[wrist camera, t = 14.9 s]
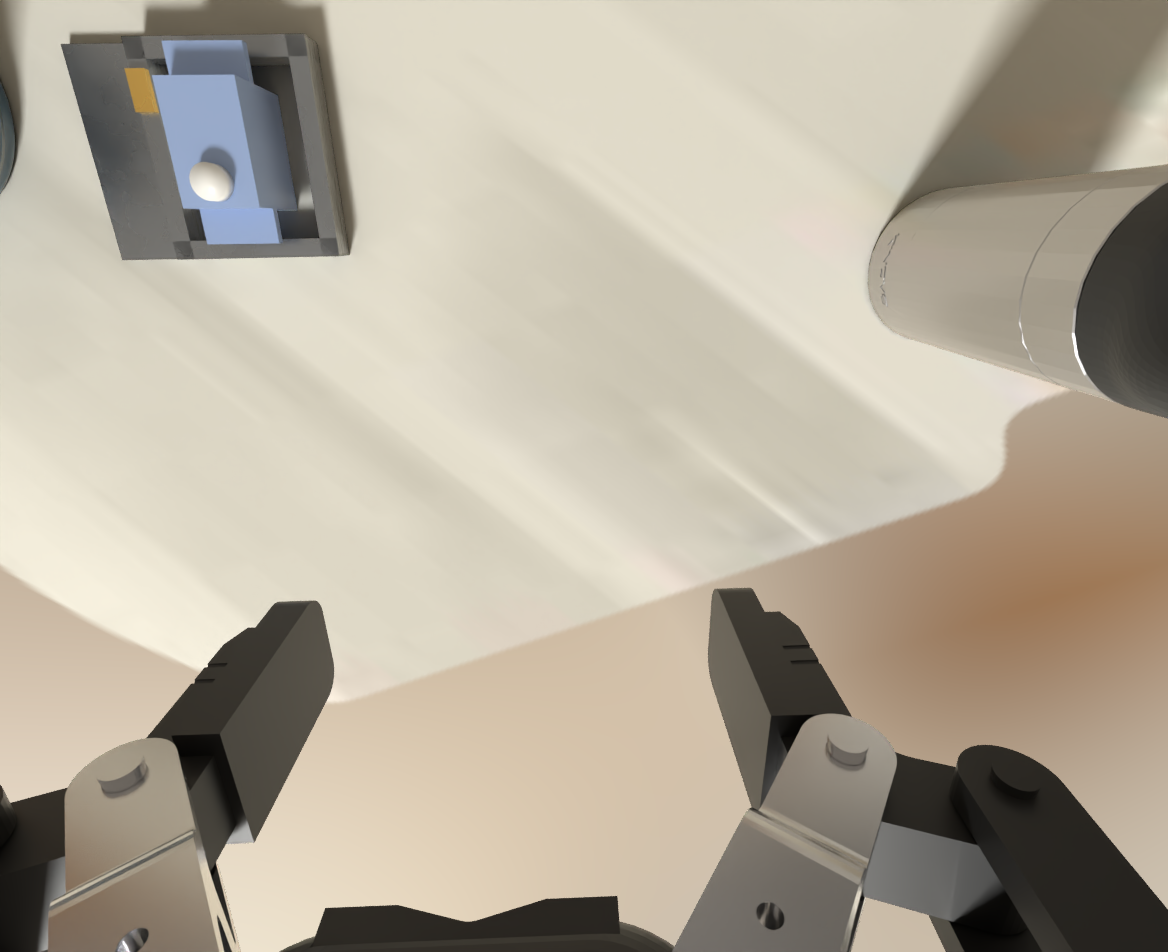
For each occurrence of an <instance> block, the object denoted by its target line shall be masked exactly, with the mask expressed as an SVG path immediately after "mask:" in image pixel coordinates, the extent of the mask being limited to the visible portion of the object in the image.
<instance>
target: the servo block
mask: <svg viewBox="0 0 1168 952" xmlns="http://www.w3.org/2000/svg"><path fill="white" fill-rule="evenodd" d="M161 42H162V46H163V50H164V55H165V59H166V64H167V68H168V73H169V75H152V78H153V82H154V87H155V91H156V95H157V99H158V104H159V108H160V112H161V116H162V121H163V125H164V129H165V133H166V138H167V142H168V146H169V150H170V155H171V159H172V163H173V167H174V172H175V176H176V180H177V184H178V189H179V193H180V197H181V201H182V206H183V208H184V209H199V210H200V214H201V218H202V223H203V227H204V232H205V236H206V240H207V244H273V243H283V240H282V235H281V229H280V224H279V218H278V213H277V211H298V210H297V204H296V198H295V192H294V186H293V181H292V175H291V169H290V163H289V157H288V151H287V146H286V140H285V134H284V128H283V122H282V116H281V111H280V105H279V99H278V95H276V94H274V93H272V92H270V91H268V90H266V89H263V88H261V87H259V86H257V85H255V84H254V82H253V76H252V71H251V65H250V60H249V54H248V49H247V43H246V42H244V41H242V40H175V41H161Z"/></svg>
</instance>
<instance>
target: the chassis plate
mask: <svg viewBox="0 0 1168 952" xmlns="http://www.w3.org/2000/svg"><path fill="white" fill-rule="evenodd" d="M121 39H122V43H98V44H61V46H62V50H63V53H64V57H65V60H66V64H67V68H68V71H69V75H70V78H71V82H72V85H73V89H74V92H75V96H76V99H77V103H78V106H79V110H80V113H81V117H82V120H83V124H84V127H85V131H86V134H87V138H88V141H89V145H90V148H91V152H92V155H93V159H94V162H95V166H96V169H97V173H98V176H99V180H100V183H101V187H102V190H103V194H104V197H105V201H106V204H107V208H108V211H109V215H110V218H111V222H112V225H113V229H114V232H115V236H116V239H117V243H118V246H119V250H120V253H121V257H122V260H148V259H223V258H270V257H317V256H344V255H349V249H348V242H347V235H346V229H345V222H344V216H343V209H342V203H341V196H340V190H339V183H338V177H337V170H336V164H335V157H334V151H333V144H332V138H331V131H330V125H329V118H328V112H327V105H326V99H325V92H324V86H323V79H322V73H321V66H320V59H319V53H318V46H317V43H316V42H314V41H313V40H312V39H310V38H309V37H308V36H306V35H305V34H248V35H179V36H121ZM175 40H242V41H244V42H246V43H247V49H248V54H249V60H250V65H251V66H275V65H290V67H291V73H292V79H293V85H294V91H295V97H296V103H297V109H298V114H299V120H300V126H301V132H302V138H303V144H304V150H305V156H306V162H307V168H308V174H309V180H310V185H311V191H312V197H313V203H314V209H315V215H316V221H317V227H318V233H319V238H304V239H282V240H283V243H273V244H207V240H206V236H205V232H204V227H203V223H202V218H201V214H200V210H199V209H184V208H183V206H182V201H181V197H180V193H179V189H178V184H177V180H176V176H175V172H174V167H173V163H172V159H171V155H170V150H169V146H168V142H167V138H166V133H165V129H164V125H163V121H162V116H161V112H160V108H159V104H158V99H157V95H156V91H155V87H154V82H153V78H152V75H168V72H167V64H166V59H165V55H164V50H163V46H162V42H161V41H175Z"/></svg>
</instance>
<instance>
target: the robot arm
mask: <svg viewBox="0 0 1168 952" xmlns="http://www.w3.org/2000/svg"><path fill="white" fill-rule="evenodd" d="M868 289H869V295H870V300H871V303H872V305H873V308H874V310H875V312H876V314H877V315H878V317H879V318H880V319H881V321H882V322H883V323H884V324H885V325H886V326H887V327H888V328H890V329H891V330H892V331H893V332H895V333H897V334H900V335H902V336H904V337H906V338H909V339H912V340H916V341H919V342H922V343H925V344H928V345H932V346H935V347H937V348H940V349H943V350H947V351H950V352H953V353H956V354H960V355H963V356H966V357H969V358H972V359H976V360H979V361H982V362H985V363H989V364H992V365H995V366H998V367H1002V368H1005V369H1008V370H1011V371H1014V372H1018V373H1021V374H1024V375H1027V376H1031V377H1034V378H1037V379H1040V380H1043V381H1047V382H1050V383H1053V384H1056V385H1060V386H1063V387H1066V388H1069V389H1073V390H1076V391H1080V392H1083V393H1087V394H1090V395H1093V396H1096V397H1100V398H1103V399H1106V400H1109V401H1113V402H1116V403H1119V404H1122V405H1124V406H1127V407H1130V408H1133V409H1137V410H1140V411H1143V412H1147V413H1150V414H1154V415H1157V416H1161V417H1164V418H1168V164H1166V165H1158V166H1151V167H1141V168H1132V169H1123V170H1114V171H1105V172H1095V173H1086V174H1077V175H1068V176H1059V177H1050V178H1040V179H1031V180H1022V181H1013V182H1004V183H993V184H983V185H974V186H965V187H956V188H947V189H943V190H939V191H935V192H931V193H929V194H927V195H925V196H923V197H920V198H918V199H916V200H915V201H913V202H912V203H911V204H909V205H908V206H906V207H905V208H904V209H902V210H901V211H900V212H899V213H898V214H897V215H896V216H895V217H894V218H893V219H892V221H891V222H890V223H889V224H888V226H887V227H886V229H885V230H884V231H883V233H882V234H881V236H880V237H879V240H878V242H877V244H876V246H875V249H874V251H873V253H872V257H871V261H870V265H869V270H868ZM809 646H810V645H809V643H808V641H807V640H806V638H805V636H804V635H803V633H802V631H801V629H800V628H799V626H797V625H796V624H795V623H793V622H792V621H791V620H790V619H788V618H787V617H786V616H785V615H783V614H782V613H781V612H764V610H763V608H762V606H761V604H760V602H759V600H758V598H757V596H756V595H755V593H754V591H753V589H751V588H729V589H715V590H714V591H713V594H712V603H711V617H710V632H709V646H708V663H709V672H710V678H711V682H712V685H713V688H714V692H715V695H716V697H717V701H718V704H719V707H720V710H721V713H722V716H723V720H724V723H725V726H726V729H727V732H728V735H729V738H730V741H731V744H732V747H733V750H734V753H735V756H736V759H737V763H738V766H739V769H740V772H741V775H742V778H743V781H744V785H745V788H746V791H747V794H748V797H749V800H750V803H751V806H752V808H750V809H749V810H748V811H747V812H746V813H745V815H744V816H743V818H742V820H741V822H740V824H739V826H738V827H737V829H736V831H735V833H734V835H733V837H732V839H731V841H730V843H729V845H728V847H727V848H726V850H725V852H724V854H723V856H722V858H721V860H720V862H719V863H718V865H717V867H716V869H715V871H714V873H713V875H712V877H711V879H710V880H709V882H708V884H707V886H706V888H705V890H704V892H703V894H702V896H701V898H700V899H699V901H698V903H697V905H696V907H695V909H694V911H693V913H692V915H691V917H690V919H689V920H688V922H687V924H686V926H685V928H684V930H683V932H682V934H681V936H680V937H679V939H678V941H677V943H676V945H675V947H674V946H673V945H671V944H670V943H669V942H667V941H665V940H664V939H662V938H660V937H658V936H656V935H654V934H653V933H651V932H648V931H646V930H644V929H641V928H639V927H636V926H634V925H630V924H626V923H623V922H619V913H618V900H617V896H610V897H609V896H608V897H584V898H559V899H545V900H541V901H538V902H535V903H532V904H529V905H526V906H522V907H519V908H516V909H512V910H509V911H506V912H503V913H500V914H496V915H493V916H490V917H487V918H484V919H480V920H477V921H472V922H464V921H459V920H455V919H451V918H447V917H443V916H439V915H435V914H431V913H427V912H423V911H419V910H415V909H411V908H407V907H403V906H399V905H392V906H390V905H389V906H365V907H342V908H325V911H324V914H323V916H322V919H321V923H320V925H319V928H318V931H317V934H316V936H315V937H312V938H309V939H306V940H303V941H301V942H299V943H296V944H294V945H292V946H289V947H287V948H286V949H284V950H282V951H280V952H851V950H852V946H853V942H854V939H855V935H856V932H857V928H858V924H859V921H860V917H861V914H862V911H863V907H864V904H865V900H866V897H867V898H871V899H874V900H878V901H881V902H885V903H889V904H892V905H895V906H899V907H903V908H906V909H910V910H913V911H917V912H920V913H924V914H927V915H929V917H930V919H931V921H932V923H933V926H934V927H935V930H936V932H937V934H938V936H939V938H940V940H941V942H942V945H943V947H944V949H945V951H946V952H1168V909H1167V908H1166V907H1165V906H1164V904H1163V903H1162V902H1161V901H1160V900H1159V898H1158V897H1157V896H1156V895H1155V894H1154V892H1153V891H1152V890H1151V889H1150V888H1149V886H1148V885H1147V884H1146V883H1145V881H1144V880H1143V879H1142V878H1141V877H1140V876H1139V874H1138V873H1137V872H1136V871H1135V869H1134V868H1133V867H1132V866H1131V865H1130V863H1129V862H1128V861H1127V860H1126V859H1125V857H1124V856H1123V855H1122V854H1121V853H1120V851H1119V850H1118V849H1117V848H1116V846H1115V845H1114V844H1113V843H1112V842H1111V840H1110V839H1109V838H1108V837H1107V836H1106V834H1105V833H1104V832H1103V831H1102V830H1101V828H1100V827H1099V826H1098V825H1097V824H1096V823H1095V821H1094V820H1093V819H1092V818H1091V816H1090V815H1089V814H1088V813H1087V811H1086V810H1085V809H1084V808H1083V807H1082V805H1081V804H1080V803H1079V802H1078V801H1077V799H1076V798H1075V797H1074V796H1073V795H1072V793H1071V792H1070V791H1069V790H1068V788H1067V787H1066V786H1065V785H1064V784H1063V783H1062V781H1061V780H1060V779H1059V778H1058V777H1057V776H1056V775H1055V774H1053V773H1052V772H1051V771H1050V770H1049V769H1047V768H1046V767H1044V766H1043V765H1041V764H1040V763H1038V762H1037V761H1035V760H1033V759H1031V758H1030V757H1028V756H1025V755H1024V754H1021V753H1019V752H1016V751H1013V750H1010V749H1007V748H1003V747H999V746H993V745H977V746H973V747H970V748H968V749H966V750H964V751H963V752H962V753H961V754H960V756H959V758H958V761H957V765H956V767H953V766H948V765H943V764H938V763H934V762H929V761H924V760H920V759H915V758H911V757H908V756H904V755H901V754H899V753H896V752H895V751H894V749H893V747H892V745H891V744H890V742H889V741H888V740H887V739H886V738H885V737H884V736H883V735H882V734H881V733H880V732H879V731H877V730H876V729H875V728H874V727H872V726H870V725H869V724H867V723H865V722H863V721H861V720H859V719H856V718H853V717H852V716H851V714H850V713H849V711H848V709H847V707H846V706H845V704H844V703H843V701H842V699H841V697H840V696H839V694H838V692H837V691H836V689H835V687H834V685H833V684H832V682H831V680H830V679H829V677H828V676H827V674H826V672H825V670H824V668H823V667H822V665H821V664H819V662H818V658H817V657H816V655H815V653H814V651H813V650H812V649H811V648H810V647H809ZM333 679H334V663H333V658H332V653H331V649H330V644H329V639H328V635H327V630H326V625H325V620H324V616H323V611H322V608H321V606H320V604H319V603H318V602H317V601H289V602H277V603H275V604H274V605H273V606H272V607H271V608H270V610H269V611H268V612H267V614H266V615H265V616H264V617H263V619H262V620H261V621H260V623H259V624H258V625H257V626H256V628H247V629H246V630H244V631H243V632H241V633H240V634H238V635H237V636H235V637H234V638H233V639H231V640H230V641H228V642H227V643H225V644H224V645H223V646H222V647H221V649H220V650H219V651H218V652H217V653H216V655H215V656H214V657H213V658H212V659H211V661H210V662H209V663H208V667H207V668H204V669H203V670H202V671H201V673H200V674H199V675H198V676H197V678H196V679H195V683H194V684H191V685H190V686H189V687H188V689H187V690H186V691H185V692H184V693H183V694H182V696H181V697H180V698H179V699H178V701H177V702H176V703H175V704H174V705H173V707H172V708H171V709H170V710H169V711H168V713H167V714H166V715H165V716H164V718H163V719H162V720H161V721H160V723H159V724H158V725H157V726H156V727H155V728H154V730H153V731H152V732H151V733H150V734H149V736H148V737H147V738H146V739H140V740H136V741H132V742H129V743H126V744H123V745H121V746H118V747H116V748H114V749H112V750H110V751H108V752H106V753H104V754H103V755H101V756H99V757H98V758H96V759H95V760H93V761H92V762H91V763H89V764H88V765H87V766H86V767H84V768H83V769H82V770H81V771H80V772H79V773H78V774H77V775H76V777H75V778H74V779H73V780H72V782H71V783H70V785H69V786H68V788H65V789H61V790H57V791H54V792H50V793H46V794H42V795H39V796H35V797H31V798H28V799H24V800H20V801H17V802H12V803H10V802H9V800H8V798H7V796H6V794H5V792H4V790H3V788H2V786H1V785H0V952H241V951H240V947H239V943H238V939H237V935H236V931H235V927H234V923H233V919H232V916H231V912H230V908H229V904H228V900H227V896H226V892H225V889H224V884H223V880H222V877H221V873H220V870H219V867H218V864H217V859H218V857H219V855H220V854H221V852H222V850H223V848H224V846H225V844H236V843H254V842H255V840H256V838H257V836H258V834H259V832H260V830H261V828H262V826H263V824H264V822H265V820H266V819H267V817H268V815H269V813H270V811H271V809H272V807H273V805H274V803H275V801H276V799H277V797H278V795H279V793H280V791H281V789H282V787H283V785H284V783H285V781H286V779H287V777H288V775H289V773H290V771H291V769H292V767H293V765H294V764H295V762H296V760H297V757H298V756H299V754H300V752H301V750H302V748H303V746H304V744H305V742H306V740H307V738H308V736H309V734H310V732H311V730H312V728H313V726H314V724H315V722H316V720H317V718H318V716H319V714H320V713H321V711H322V709H323V707H324V705H325V703H326V701H327V699H328V697H329V695H330V692H331V689H332V685H333Z"/></svg>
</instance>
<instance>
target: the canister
mask: <svg viewBox="0 0 1168 952" xmlns="http://www.w3.org/2000/svg"><path fill="white" fill-rule="evenodd" d="M14 152H15V134H14V125H13V119H12V114H11V110H10V106H9V103H8V100H7V97H6V94H5V91H4V89H3V86H2V84H1V82H0V193H1V192H2V190H3V189H4V187H5V185H6V183H7V181H8V178H9V176H10V173H11V169H12V166H13V160H14Z"/></svg>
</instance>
